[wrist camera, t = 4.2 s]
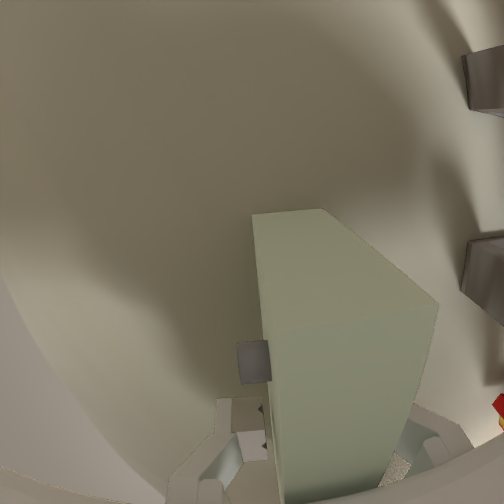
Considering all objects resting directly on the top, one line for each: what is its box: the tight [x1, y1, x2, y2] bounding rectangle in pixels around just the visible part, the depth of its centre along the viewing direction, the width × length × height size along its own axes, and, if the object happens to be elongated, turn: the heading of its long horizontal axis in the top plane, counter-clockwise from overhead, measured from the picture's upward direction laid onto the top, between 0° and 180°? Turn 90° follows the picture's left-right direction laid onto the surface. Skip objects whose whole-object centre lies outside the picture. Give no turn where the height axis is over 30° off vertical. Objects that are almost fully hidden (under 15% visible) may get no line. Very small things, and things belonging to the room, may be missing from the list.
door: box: [237, 208, 439, 504], centre depth 9 cm, size 12×3×7 cm, turn 5°
